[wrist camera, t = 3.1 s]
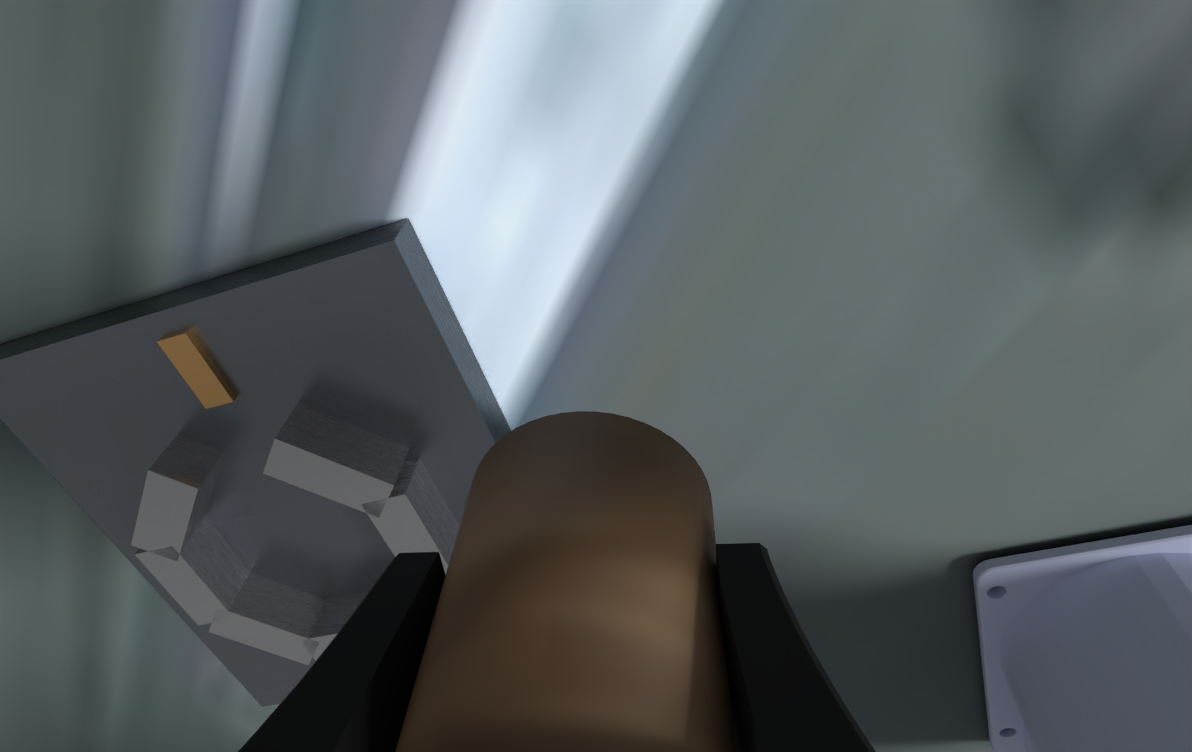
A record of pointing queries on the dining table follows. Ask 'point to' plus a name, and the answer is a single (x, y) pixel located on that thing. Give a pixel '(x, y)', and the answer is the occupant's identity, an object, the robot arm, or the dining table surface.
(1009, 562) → the robot arm
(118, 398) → the hub plate
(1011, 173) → the dining table surface
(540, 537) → the knob
